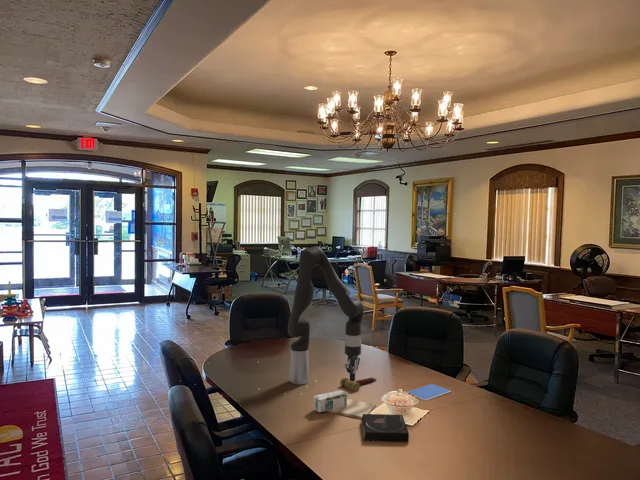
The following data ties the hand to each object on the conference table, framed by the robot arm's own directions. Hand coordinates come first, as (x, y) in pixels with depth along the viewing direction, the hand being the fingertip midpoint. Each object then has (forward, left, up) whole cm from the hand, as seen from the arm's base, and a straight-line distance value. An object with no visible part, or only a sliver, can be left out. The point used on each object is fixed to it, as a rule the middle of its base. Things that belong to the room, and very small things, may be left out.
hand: (352, 380), depth 212 cm
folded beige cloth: (+1, -7, -10) cm, 12 cm away
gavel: (-4, +24, -11) cm, 27 cm away
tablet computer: (+29, +29, -11) cm, 42 cm away
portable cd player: (+22, -21, -11) cm, 33 cm away
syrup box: (-1, -6, -7) cm, 9 cm away
